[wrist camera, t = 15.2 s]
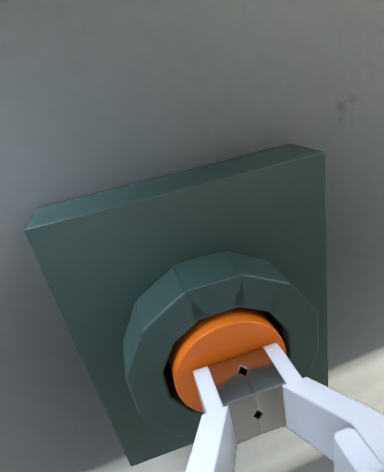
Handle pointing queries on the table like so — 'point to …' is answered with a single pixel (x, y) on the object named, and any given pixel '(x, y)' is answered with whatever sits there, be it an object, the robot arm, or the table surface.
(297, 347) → the block
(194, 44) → the table surface
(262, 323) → the button
